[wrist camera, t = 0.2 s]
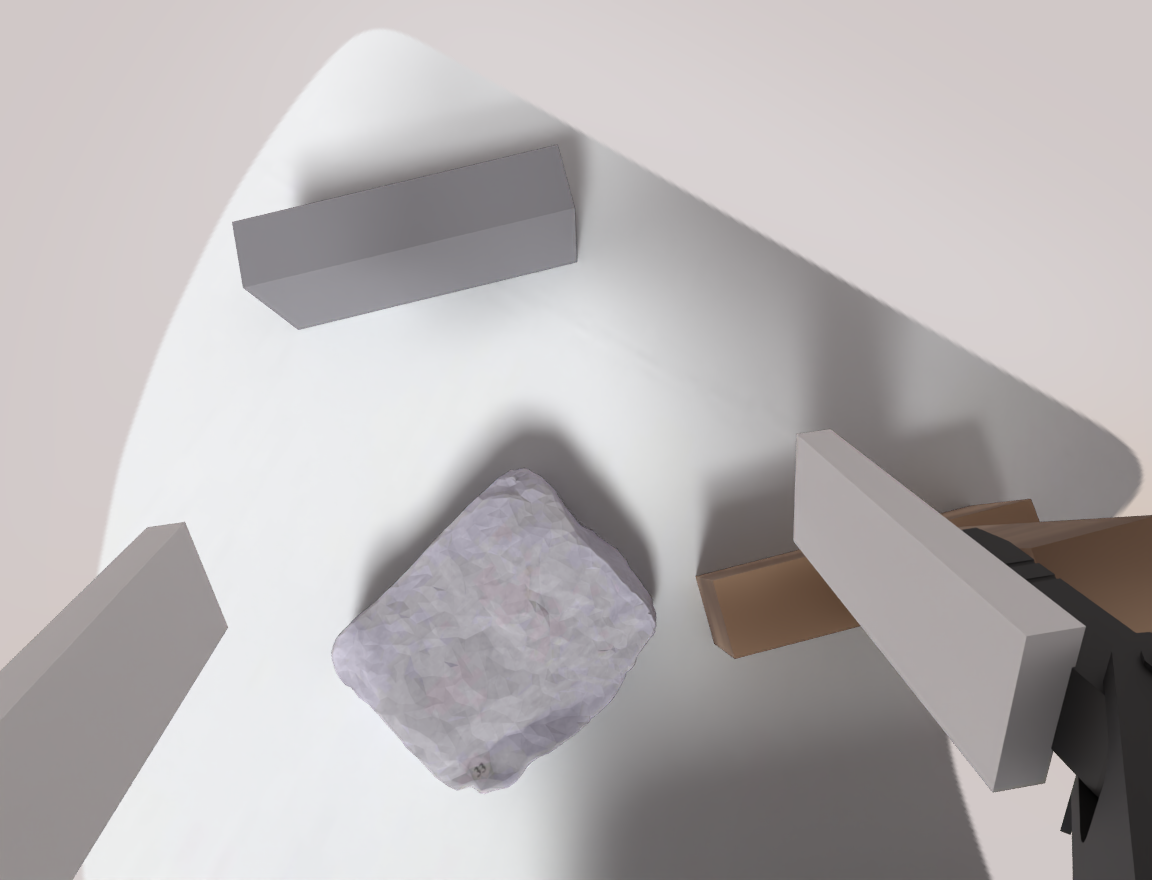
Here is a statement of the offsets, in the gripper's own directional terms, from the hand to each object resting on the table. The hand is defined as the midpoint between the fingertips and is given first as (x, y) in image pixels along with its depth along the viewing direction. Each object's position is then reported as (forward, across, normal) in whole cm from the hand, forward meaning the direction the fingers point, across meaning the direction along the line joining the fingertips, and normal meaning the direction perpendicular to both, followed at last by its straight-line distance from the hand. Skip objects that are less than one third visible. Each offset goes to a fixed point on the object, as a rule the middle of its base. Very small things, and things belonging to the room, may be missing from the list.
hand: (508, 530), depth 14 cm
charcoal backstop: (+20, +3, -3) cm, 21 cm away
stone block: (+11, +2, +12) cm, 16 cm away
